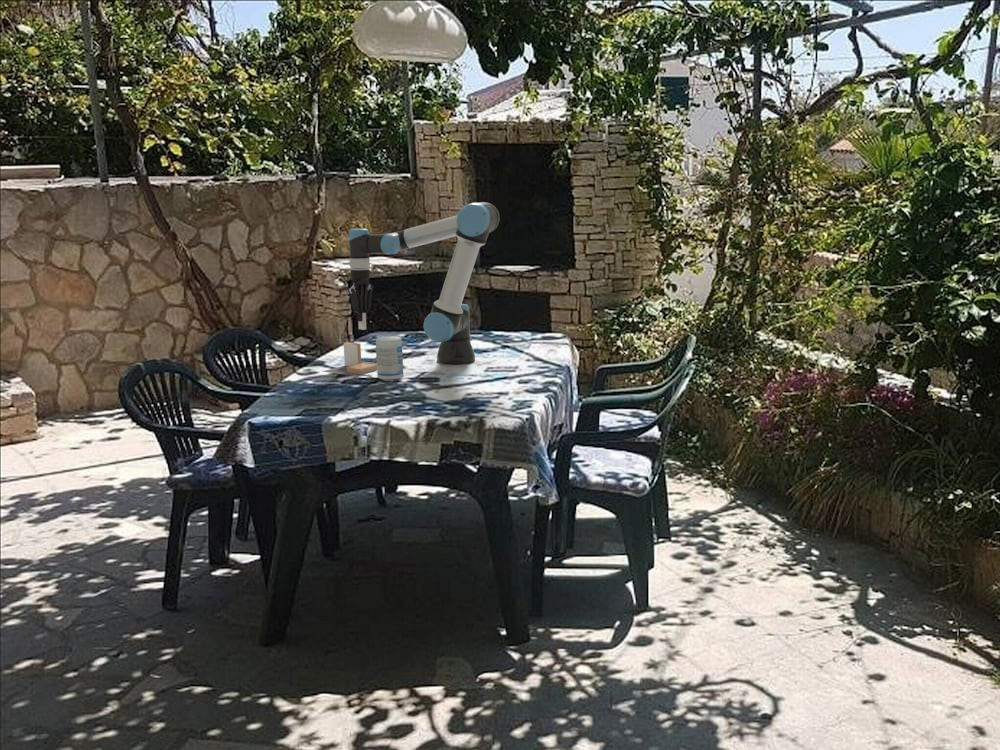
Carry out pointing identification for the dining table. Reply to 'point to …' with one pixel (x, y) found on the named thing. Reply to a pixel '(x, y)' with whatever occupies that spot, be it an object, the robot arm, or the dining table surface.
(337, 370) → the mat
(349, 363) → the tan flat block
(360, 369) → the tan rectangular block
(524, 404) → the dining table surface
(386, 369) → the supplement tub
